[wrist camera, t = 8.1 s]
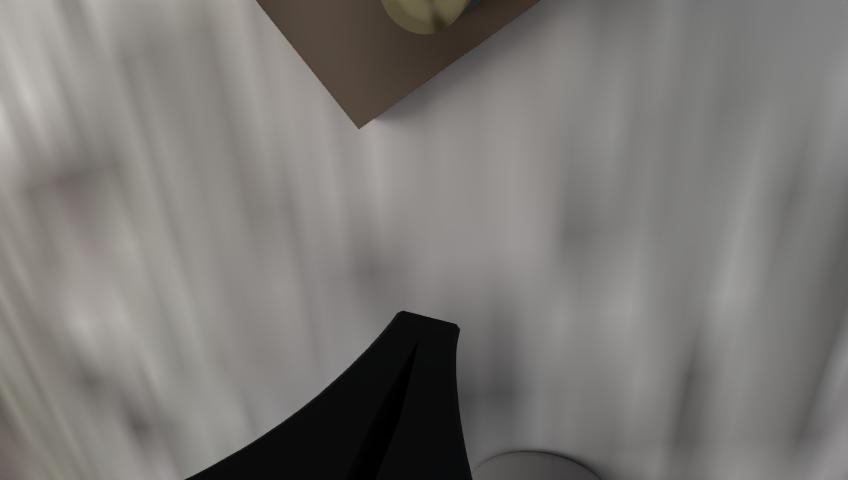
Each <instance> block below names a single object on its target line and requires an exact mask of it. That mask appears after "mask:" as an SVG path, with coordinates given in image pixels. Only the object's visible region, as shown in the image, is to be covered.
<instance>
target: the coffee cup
mask: <svg viewBox="0 0 848 480" xmlns="http://www.w3.org/2000/svg"><path fill="white" fill-rule="evenodd" d="M471 475H472V479H473V480H600V479H599V478H598V477H597V476H595V475H594V474H593V473H592V472H590V471H589V470H587V469H586V468H584V467H582V466H580V465H578V464H576V463H574V462H572V461H570V460H567V459H565V458H562V457H559V456H555V455H551V454H546V453H540V452H513V453H506V454H502V455H499V456H496V457H493V458H491V459H489V460H487V461H485V462H484V463H482V464H481V465H480V466H478V467H477V468H476V470H475V471H474V472H473V473H472V474H471Z"/></svg>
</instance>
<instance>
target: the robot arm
mask: <svg viewBox="0 0 848 480" xmlns="http://www.w3.org/2000/svg"><path fill="white" fill-rule="evenodd" d="M459 332H460V329H459V327H458V326H457V325H456V324H454V323H450V322H446V321H442V320H438V319H434V318H430V317H426V316H422V315H418V314H414V313H410V312H406V311H401V312H399V313H397V314H396V316H395V317H394V318H393V320H392V321H391V322H390V323H389V325H388V326H387V327H386V328H385V330H384V331H383V332H382V333H381V334H380V335H379V337H378V338H377V339H376V340H375V341H374V342H373V343H372V344H371V345H370V346H369V348H368V349H367V350H366V351H365V352H364V353H363V354H362V355H361V356H360V357H359V358H358V359H357V360H356V361H355V362H354V363H353V364H352V365H351V366H350V367H349V368H348V369H347V370H346V371H345V372H343V373H342V374H341V375H340V376H339V377H338V378H337V379H336V380H335V381H333V382H332V383H331V384H330V385H329V386H328V387H327V388H325V389H324V390H323V391H322V392H321V393H320V394H319V395H317V396H316V397H315V398H314V399H313V400H311V401H310V402H309V403H308V404H306V405H305V406H304V407H302V408H301V409H300V410H299V411H297V412H296V413H295V414H293V415H292V416H291V417H289V418H288V419H286V420H285V421H284V422H282V423H281V424H279V425H278V426H276V427H275V428H273V429H272V430H270V431H269V432H267V433H266V434H264V435H263V436H262V437H260V438H259V439H257V440H255V441H254V442H252V443H251V444H249V445H247V446H246V447H244V448H242V449H241V450H239V451H237V452H235V453H234V454H232V455H230V456H228V457H226V458H225V459H223V460H221V461H219V462H218V463H216V464H214V465H212V466H210V467H209V468H207V469H205V470H203V471H201V472H199V473H197V474H195V475H193V476H191V477H189V478H187V479H185V480H473V479H472V475H471V471H470V466H469V462H468V458H467V453H466V448H465V443H464V438H463V432H462V426H461V419H460V412H459V404H458V392H457V380H456V350H457V342H458V337H459Z"/></svg>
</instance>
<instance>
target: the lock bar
mask: <svg viewBox="0 0 848 480" xmlns="http://www.w3.org/2000/svg"><path fill="white" fill-rule="evenodd" d="M381 1H382V4H383V6H384V8H385V10H386V12H387V13H388V15H389V16H390V17H391V18H392V20H393V21H394V22H396V23H397V24H398V25H399V26H401V27H402V28H404V29H406V30H408V31H410V32H413V33H417V34H432V33H437V32H439V31H442V30H444V29H446V28H447V27H448V26H450V25H451V24H452V23H453V22H454V21H455V20H456V19H457V18H458V16H459V15H460V14H461V13H462V11H463V10H464V9H465V8H466V7H467V5H468V4H469V3H470V2H471V0H381Z"/></svg>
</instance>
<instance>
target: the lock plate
mask: <svg viewBox="0 0 848 480" xmlns="http://www.w3.org/2000/svg"><path fill="white" fill-rule="evenodd" d="M256 1H257V2H258V4H259V5H260V6H261V7H262V9H263V10H264V11H265V12H266V14H267V15H268V16H269V17H270V19H271V20H272V21H273V23H274V24H275V25H276V26H277V28H278V29H279V30H280V31H281V33H282V34H283V35H284V36H285V38H286V39H287V40H288V41H289V43H290V44H291V45H292V46H293V48H294V49H295V50H296V51H297V53H298V54H299V55H300V56H301V58H302V59H303V60H304V61H305V63H306V64H307V65H308V66H309V68H310V69H311V70H312V71H313V73H314V74H315V75H316V76H317V78H318V79H319V80H320V81H321V83H322V84H323V85H324V86H325V88H326V89H327V90H328V91H329V93H330V94H331V95H332V96H333V98H334V99H335V100H336V101H337V103H338V104H339V105H340V106H341V108H342V109H343V110H344V111H345V113H346V114H347V115H348V117H349V118H350V119H351V120H352V122H353V123H354V124H355V125H356V127H357V128H358V129H360V128H361V127H363V126H364V125H366V124H367V123H368V122H370V121H371V120H373V119H374V118H376V117H377V116H378V115H380V114H381V113H383V112H384V111H385V110H387V109H388V108H390V107H391V106H392V105H394V104H395V103H397V102H398V101H399V100H401V99H402V98H404V97H405V96H406V95H408V94H409V93H411V92H412V91H414V90H415V89H416V88H418V87H419V86H421V85H422V84H423V83H425V82H426V81H428V80H429V79H430V78H432V77H433V76H435V75H436V74H437V73H439V72H440V71H442V70H443V69H445V68H446V67H447V66H449V65H450V64H452V63H453V62H454V61H456V60H457V59H459V58H460V57H461V56H463V55H464V54H466V53H467V52H468V51H470V50H471V49H473V48H474V47H476V46H477V45H478V44H480V43H481V42H483V41H484V40H485V39H487V38H488V37H490V36H491V35H492V34H494V33H495V32H497V31H498V30H499V29H501V28H502V27H504V26H505V25H506V24H508V23H509V22H511V21H512V20H514V19H515V18H516V17H518V16H519V15H521V14H522V13H523V12H525V11H526V10H528V9H529V8H530V7H532V6H533V5H535V4H536V3H537V2H539V1H540V0H471V2H470V3H469V4H468V5H467V7H466V8H465V9H464V10H463V11H462V13H461V14H460V15H459V16H458V18H457V19H456V20H455V21H454V22H453V23H452V24H451V25H450V26H448V27H447V28H446V29H444V30H442V31H439V32H437V33H432V34H417V33H413V32H410V31H408V30H406V29H404V28H402V27H401V26H399V25H398V24H397V23H396V22H394V21H393V20H392V18H391V17H390V16H389V15H388V13H387V12H386V10H385V8H384V6H383V4H382V1H381V0H256Z"/></svg>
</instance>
